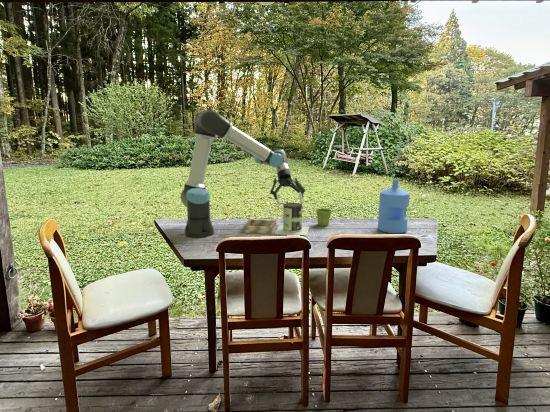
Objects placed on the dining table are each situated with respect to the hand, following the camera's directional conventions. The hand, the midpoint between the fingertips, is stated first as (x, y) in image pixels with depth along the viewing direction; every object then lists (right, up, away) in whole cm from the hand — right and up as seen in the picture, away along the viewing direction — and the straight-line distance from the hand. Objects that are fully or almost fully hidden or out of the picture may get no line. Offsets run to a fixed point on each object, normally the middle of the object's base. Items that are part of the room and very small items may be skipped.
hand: (290, 203), depth 213 cm
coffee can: (+1, -15, -3) cm, 15 cm away
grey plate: (+1, -15, -3) cm, 15 cm away
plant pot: (+19, -13, +10) cm, 25 cm away
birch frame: (-17, -14, 0) cm, 22 cm away
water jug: (+56, -15, 0) cm, 58 cm away
